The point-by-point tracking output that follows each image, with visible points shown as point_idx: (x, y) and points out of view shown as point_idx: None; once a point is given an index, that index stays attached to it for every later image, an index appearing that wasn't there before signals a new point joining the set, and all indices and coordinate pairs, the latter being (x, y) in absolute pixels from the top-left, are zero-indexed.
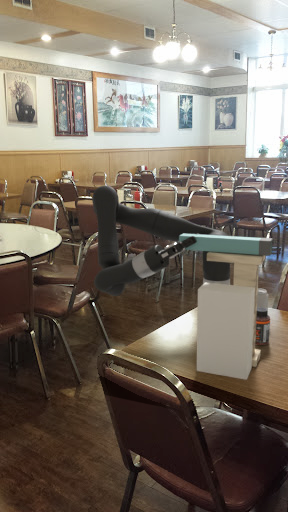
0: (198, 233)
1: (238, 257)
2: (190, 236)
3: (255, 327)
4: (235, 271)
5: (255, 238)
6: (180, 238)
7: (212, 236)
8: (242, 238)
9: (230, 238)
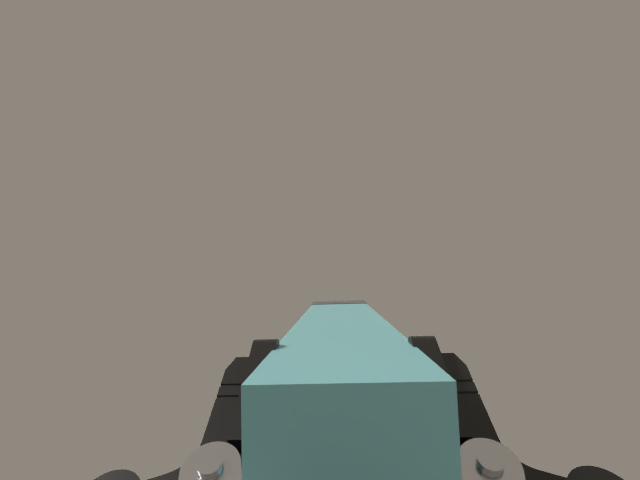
0: (257, 341)
1: None
2: (417, 350)
3: None
4: None
5: (330, 305)
6: (452, 418)
7: (345, 324)
8: (347, 308)
9: (367, 312)
